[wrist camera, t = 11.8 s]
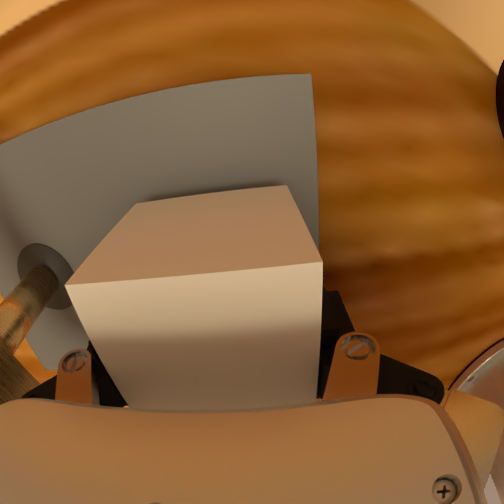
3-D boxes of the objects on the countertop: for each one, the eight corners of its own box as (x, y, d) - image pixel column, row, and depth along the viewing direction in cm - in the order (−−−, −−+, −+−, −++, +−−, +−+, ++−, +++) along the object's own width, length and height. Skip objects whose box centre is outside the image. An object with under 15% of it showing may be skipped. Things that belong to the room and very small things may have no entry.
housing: (310, 340, 20) (316, 363, 18) (54, 352, 20) (45, 370, 18) (301, 77, 13) (311, 73, 11) (-24, 159, 13) (-44, 168, 11)
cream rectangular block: (293, 341, 15) (311, 443, 10) (178, 349, 15) (159, 448, 10) (286, 185, 12) (323, 261, 6) (136, 203, 12) (64, 285, 6)
